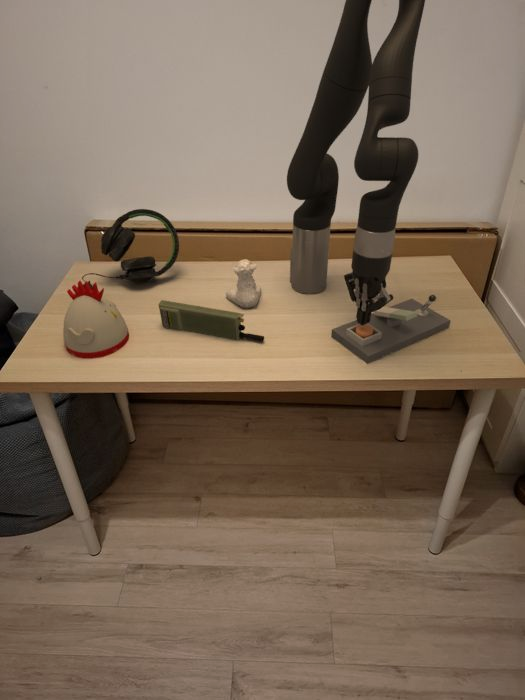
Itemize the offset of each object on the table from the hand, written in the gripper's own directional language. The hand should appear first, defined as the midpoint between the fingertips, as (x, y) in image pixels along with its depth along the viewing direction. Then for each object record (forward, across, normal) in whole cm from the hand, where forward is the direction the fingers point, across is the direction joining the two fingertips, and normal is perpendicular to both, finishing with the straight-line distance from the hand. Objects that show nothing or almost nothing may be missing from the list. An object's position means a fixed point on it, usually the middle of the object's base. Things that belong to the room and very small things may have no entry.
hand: (362, 322), depth 103 cm
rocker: (+1, 0, -10) cm, 10 cm away
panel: (+6, 0, -9) cm, 11 cm away
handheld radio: (+6, +21, +26) cm, 34 cm away
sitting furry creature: (+6, +29, +12) cm, 32 cm away
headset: (+7, +54, +33) cm, 64 cm away
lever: (+3, 0, -18) cm, 19 cm away
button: (+3, 0, 0) cm, 4 cm away
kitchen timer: (+6, +33, +49) cm, 59 cm away
